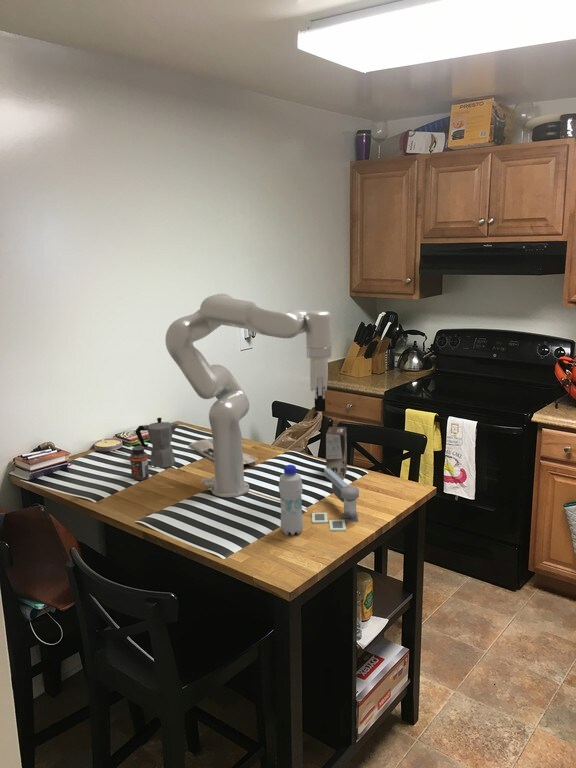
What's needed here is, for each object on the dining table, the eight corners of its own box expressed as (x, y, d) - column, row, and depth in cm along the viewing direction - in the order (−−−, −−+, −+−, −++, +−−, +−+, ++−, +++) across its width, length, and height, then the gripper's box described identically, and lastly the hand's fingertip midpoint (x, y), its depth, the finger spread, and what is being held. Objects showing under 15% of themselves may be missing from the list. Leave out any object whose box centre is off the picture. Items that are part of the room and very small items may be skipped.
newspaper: (189, 448, 249) (188, 439, 248) (216, 441, 256) (216, 433, 255) (232, 474, 221) (232, 465, 220) (262, 466, 227) (262, 457, 226)
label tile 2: (330, 531, 176) (330, 529, 176) (329, 521, 182) (329, 519, 182) (346, 530, 176) (346, 529, 176) (344, 521, 182) (344, 519, 182)
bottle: (279, 526, 179) (277, 461, 175) (302, 525, 180) (300, 460, 175) (281, 538, 173) (278, 470, 168) (305, 536, 173) (303, 469, 169)
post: (343, 521, 182) (342, 500, 180) (342, 514, 186) (342, 494, 184) (358, 521, 182) (358, 500, 180) (356, 514, 186) (356, 494, 184)
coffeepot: (180, 457, 237) (176, 412, 233) (181, 466, 228) (178, 419, 224) (138, 462, 234) (134, 416, 230) (138, 471, 225) (134, 423, 221)
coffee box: (344, 479, 212) (344, 434, 208) (325, 478, 213) (325, 434, 209) (347, 470, 220) (347, 426, 217) (329, 469, 222) (328, 425, 218)
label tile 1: (312, 523, 181) (312, 521, 181) (311, 514, 187) (311, 512, 187) (327, 522, 181) (327, 521, 181) (326, 513, 187) (326, 512, 187)
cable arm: (361, 510, 181) (361, 491, 180) (345, 513, 180) (345, 494, 178) (334, 484, 200) (334, 467, 199) (319, 487, 199) (319, 469, 197)
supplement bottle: (128, 480, 217) (125, 449, 214) (138, 474, 222) (135, 444, 220) (142, 482, 215) (139, 451, 212) (152, 475, 220) (150, 445, 217)
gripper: (306, 347, 194) (307, 404, 198) (306, 357, 179) (308, 418, 183) (330, 347, 193) (331, 404, 198) (332, 356, 179) (333, 417, 183)
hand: (320, 410), depth 191 cm, fingers closed
